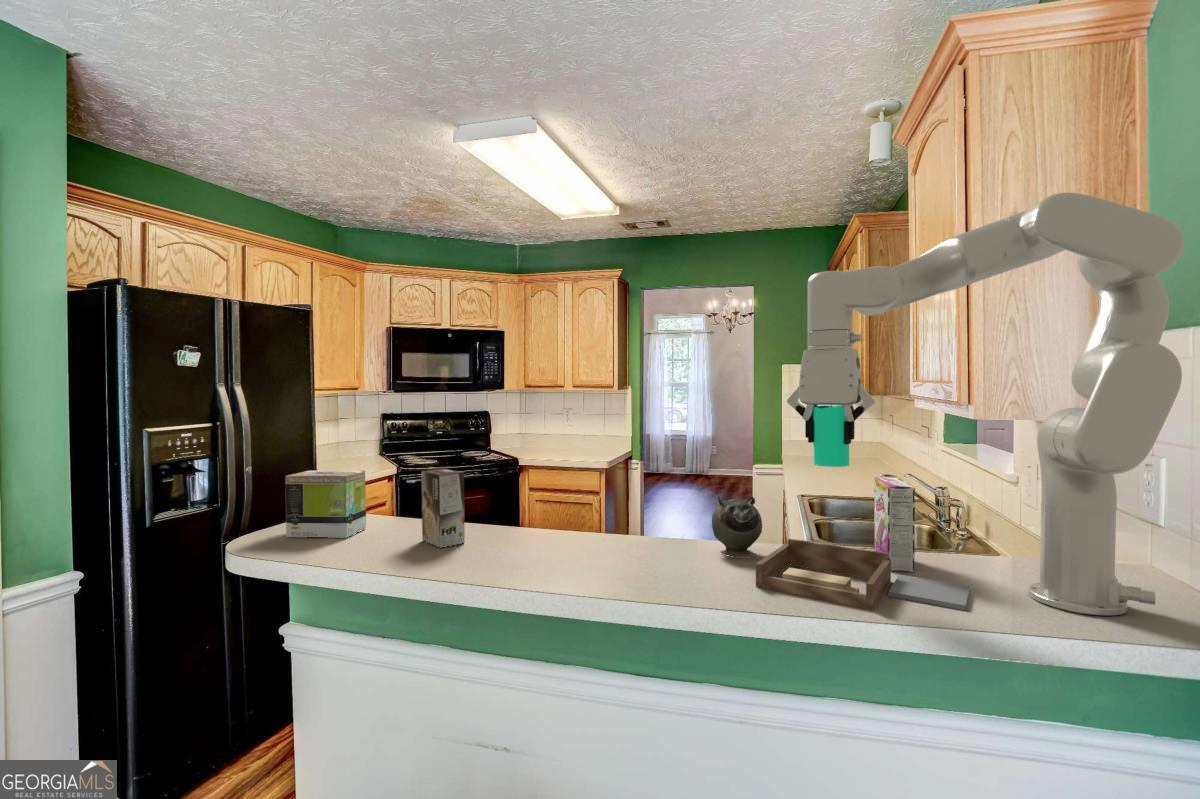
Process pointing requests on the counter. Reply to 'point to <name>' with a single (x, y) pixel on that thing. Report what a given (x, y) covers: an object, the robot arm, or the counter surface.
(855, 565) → the wooden tray
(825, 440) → the candle
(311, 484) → the tea box
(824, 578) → the offcut stack
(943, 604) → the mat
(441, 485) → the coffee box
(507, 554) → the counter surface
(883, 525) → the candy bar box
